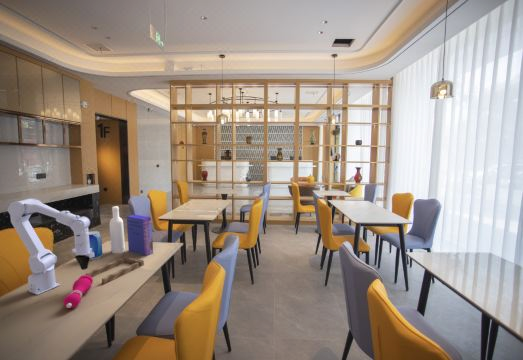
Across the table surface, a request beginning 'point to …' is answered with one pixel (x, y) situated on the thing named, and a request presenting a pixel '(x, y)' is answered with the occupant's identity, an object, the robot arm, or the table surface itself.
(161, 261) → the table surface
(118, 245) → the bottle
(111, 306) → the table surface
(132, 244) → the cereal box
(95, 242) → the beer can
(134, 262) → the u rest
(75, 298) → the pepper mill
